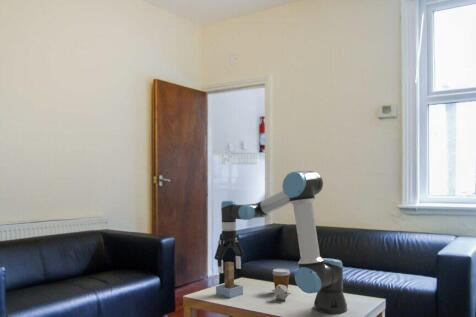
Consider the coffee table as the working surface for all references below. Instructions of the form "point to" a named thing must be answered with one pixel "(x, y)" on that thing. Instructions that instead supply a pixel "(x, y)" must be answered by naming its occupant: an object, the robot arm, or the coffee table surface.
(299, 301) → the coffee table surface
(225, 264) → the long wooden beam
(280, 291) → the game die
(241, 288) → the light blue square bin
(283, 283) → the disposable coffee cup
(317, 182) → the robot arm
